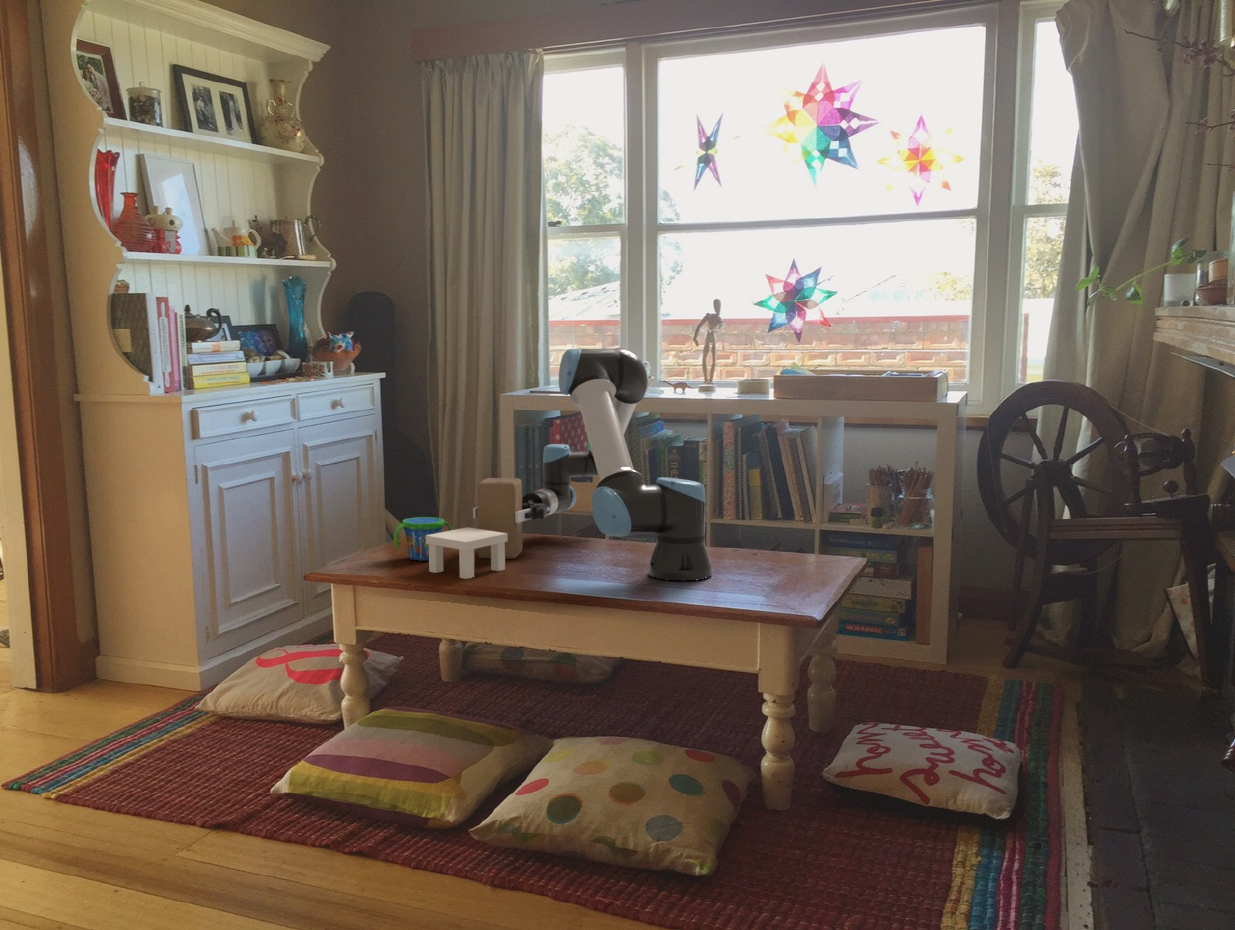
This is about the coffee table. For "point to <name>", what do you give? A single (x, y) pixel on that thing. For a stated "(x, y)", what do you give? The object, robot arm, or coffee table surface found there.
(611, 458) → the robot arm
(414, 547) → the snack cup
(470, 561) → the footstool
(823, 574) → the coffee table surface
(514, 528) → the block
